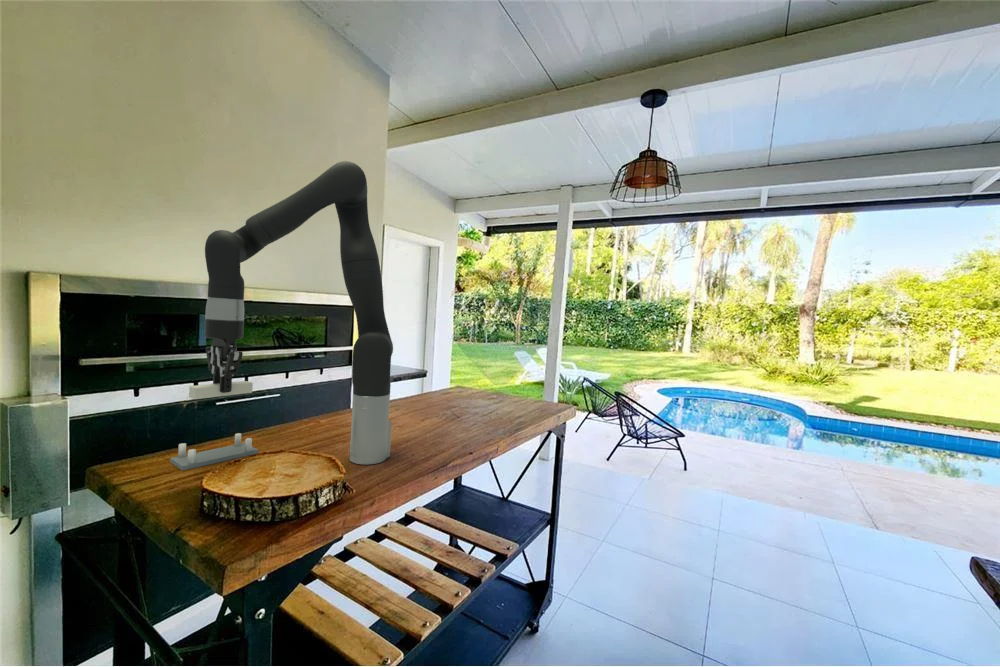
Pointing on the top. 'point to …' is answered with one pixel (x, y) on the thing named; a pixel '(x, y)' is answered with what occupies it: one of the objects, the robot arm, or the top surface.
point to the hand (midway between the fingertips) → (221, 390)
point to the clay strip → (214, 390)
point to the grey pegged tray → (212, 454)
